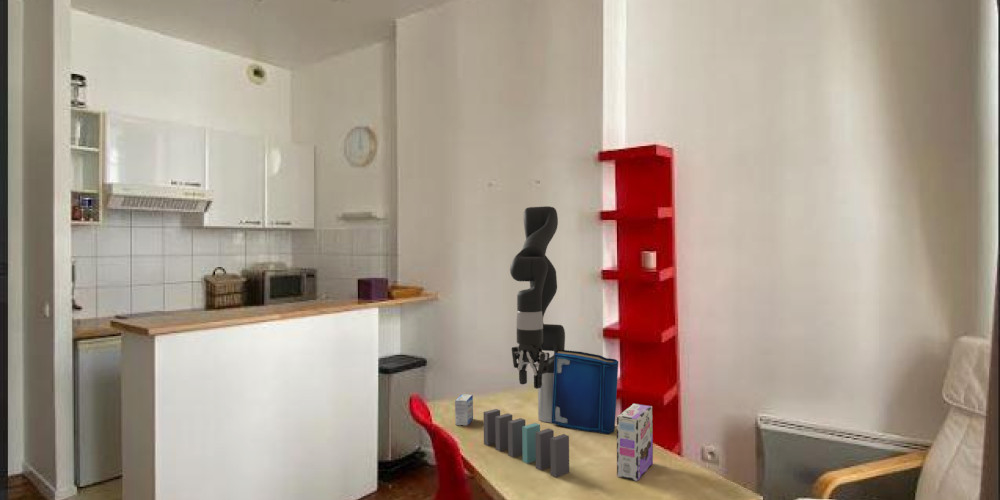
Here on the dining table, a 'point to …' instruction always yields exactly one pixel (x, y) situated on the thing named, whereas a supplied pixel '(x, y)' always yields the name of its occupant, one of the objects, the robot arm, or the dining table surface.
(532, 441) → the domino
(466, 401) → the medicine box
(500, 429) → the domino
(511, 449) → the domino
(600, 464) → the dining table surface
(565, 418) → the book
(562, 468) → the domino
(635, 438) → the candy box
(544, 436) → the domino
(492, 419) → the domino
